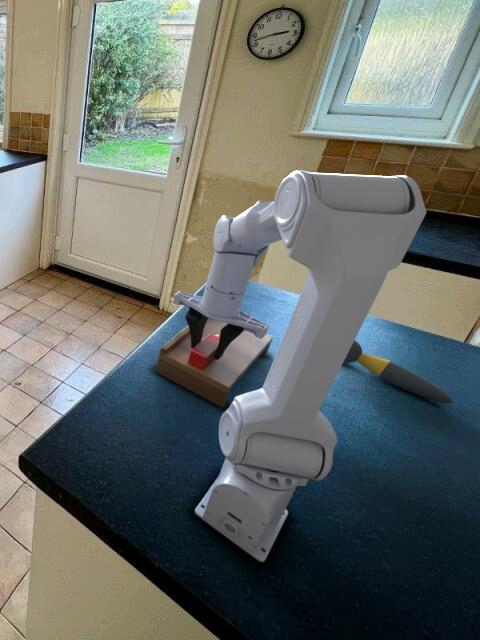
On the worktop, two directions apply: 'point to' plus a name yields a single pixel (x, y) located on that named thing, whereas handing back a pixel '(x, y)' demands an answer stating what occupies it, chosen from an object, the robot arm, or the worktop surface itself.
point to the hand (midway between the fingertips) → (206, 351)
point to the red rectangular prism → (204, 351)
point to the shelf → (217, 373)
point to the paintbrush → (397, 375)
